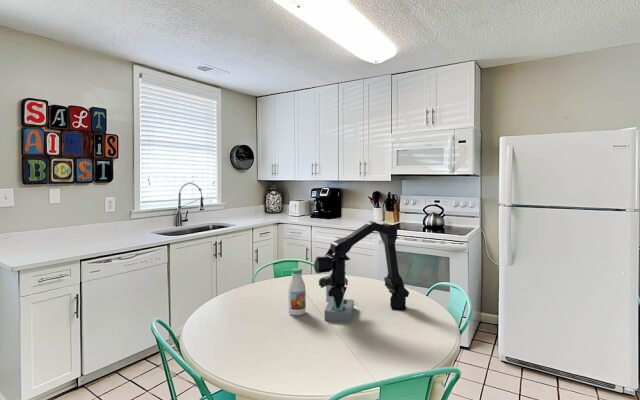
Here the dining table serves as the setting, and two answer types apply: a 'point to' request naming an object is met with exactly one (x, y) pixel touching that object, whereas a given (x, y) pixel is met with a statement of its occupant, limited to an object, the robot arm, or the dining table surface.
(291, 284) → the milk bottle
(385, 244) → the robot arm
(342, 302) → the plug
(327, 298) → the medicine box
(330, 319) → the socket plate
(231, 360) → the dining table surface
